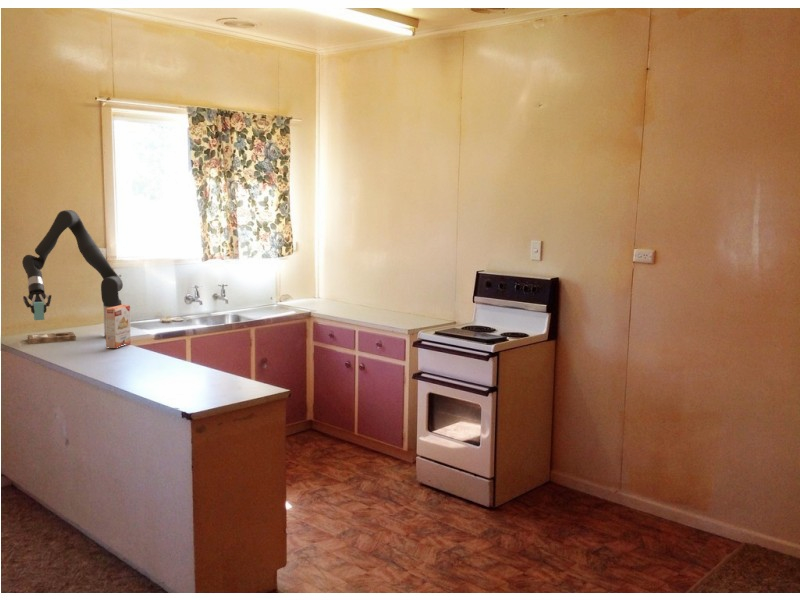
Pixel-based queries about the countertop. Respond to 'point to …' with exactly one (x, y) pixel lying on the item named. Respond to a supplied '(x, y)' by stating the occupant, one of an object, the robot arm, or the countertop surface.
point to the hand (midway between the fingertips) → (39, 312)
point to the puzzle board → (51, 337)
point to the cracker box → (117, 326)
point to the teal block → (38, 310)
